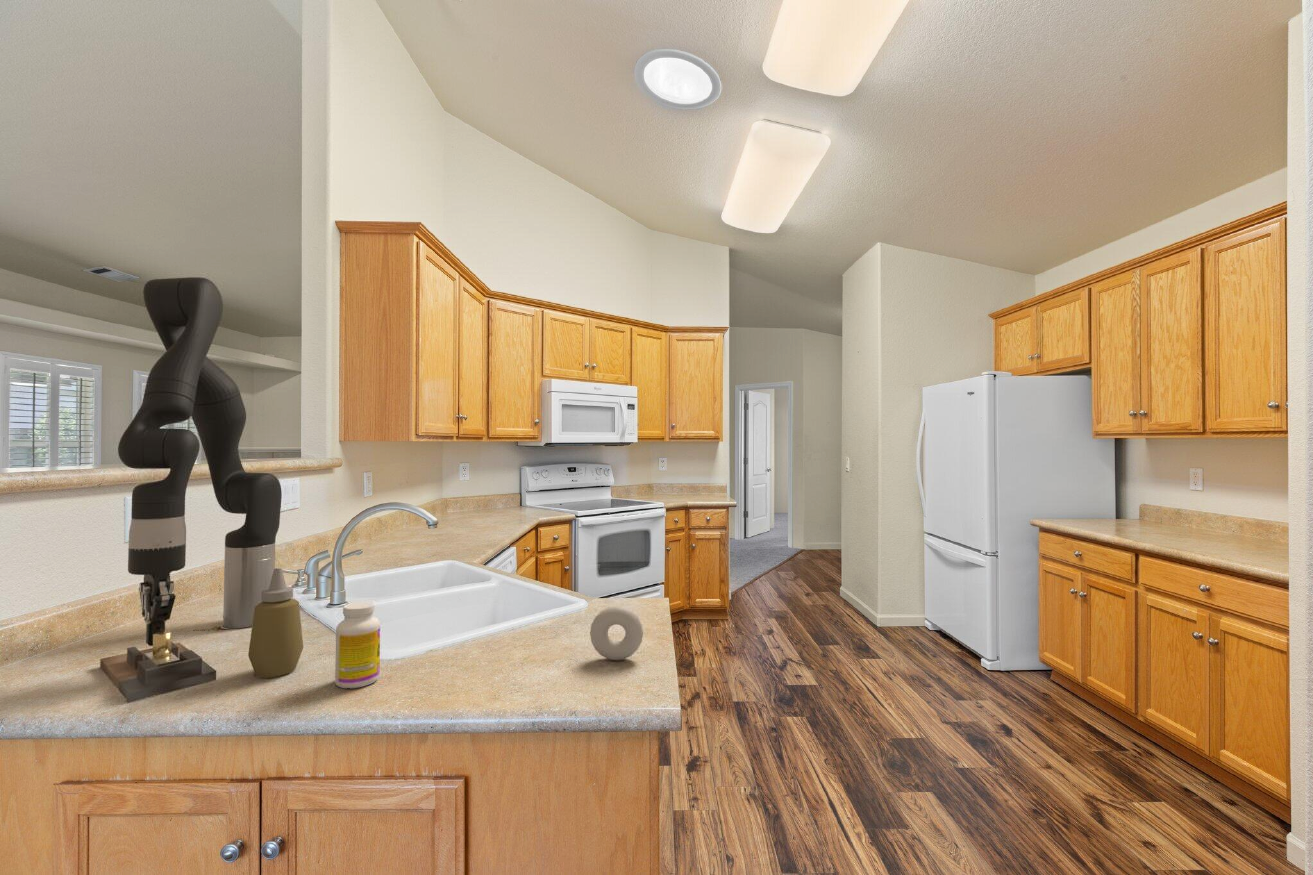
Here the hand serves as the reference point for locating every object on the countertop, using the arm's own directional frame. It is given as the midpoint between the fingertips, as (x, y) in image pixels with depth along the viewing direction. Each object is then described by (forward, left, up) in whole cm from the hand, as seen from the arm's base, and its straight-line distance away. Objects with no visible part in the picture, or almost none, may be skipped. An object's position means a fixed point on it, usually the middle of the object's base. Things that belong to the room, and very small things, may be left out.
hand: (155, 643), depth 99 cm
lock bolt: (0, +3, -3) cm, 5 cm away
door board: (0, 0, -5) cm, 5 cm away
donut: (-55, +57, -5) cm, 80 cm away
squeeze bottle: (-13, +15, -5) cm, 21 cm away
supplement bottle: (-20, +30, -5) cm, 37 cm away
